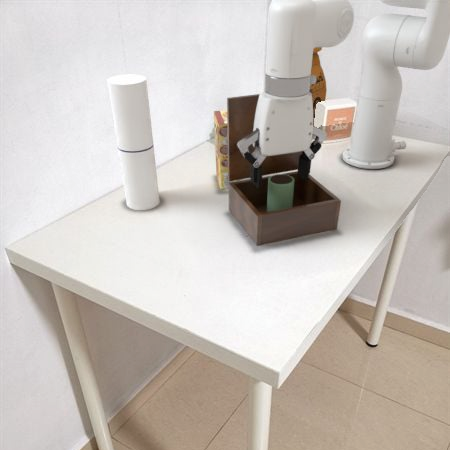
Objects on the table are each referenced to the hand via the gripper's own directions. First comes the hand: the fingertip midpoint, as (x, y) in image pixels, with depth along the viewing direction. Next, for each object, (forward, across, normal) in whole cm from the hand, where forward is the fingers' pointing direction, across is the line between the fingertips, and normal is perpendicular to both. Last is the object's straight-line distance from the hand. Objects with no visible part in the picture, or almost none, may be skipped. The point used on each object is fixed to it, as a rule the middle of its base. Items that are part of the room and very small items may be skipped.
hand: (279, 181), depth 90 cm
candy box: (+9, +4, -20) cm, 22 cm away
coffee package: (+8, -28, -45) cm, 54 cm away
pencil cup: (+8, 0, 0) cm, 8 cm away
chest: (+9, 0, +1) cm, 9 cm away
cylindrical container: (+9, +24, -18) cm, 31 cm away
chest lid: (-6, 0, -6) cm, 9 cm away
